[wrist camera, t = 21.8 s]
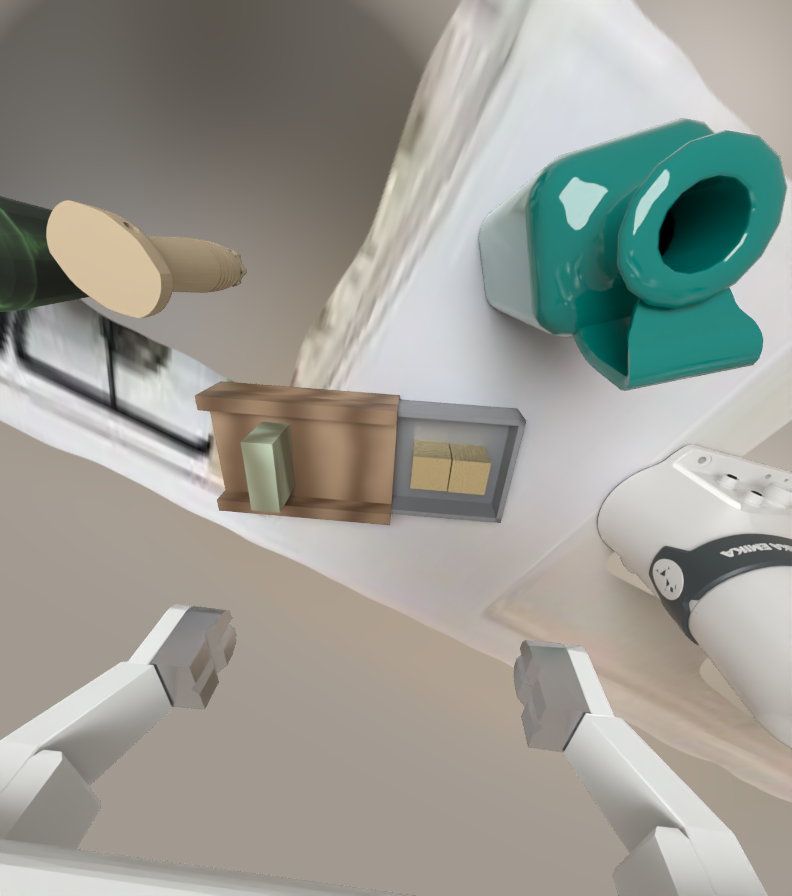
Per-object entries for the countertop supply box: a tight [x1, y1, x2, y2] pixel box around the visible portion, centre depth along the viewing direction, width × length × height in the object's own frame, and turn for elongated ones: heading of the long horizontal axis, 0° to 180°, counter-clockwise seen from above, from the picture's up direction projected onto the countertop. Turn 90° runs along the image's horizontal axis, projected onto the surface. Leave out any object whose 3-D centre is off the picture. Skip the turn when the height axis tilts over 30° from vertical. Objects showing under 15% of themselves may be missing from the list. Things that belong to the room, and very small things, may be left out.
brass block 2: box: [447, 443, 491, 495], centre depth 39 cm, size 4×4×4 cm
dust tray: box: [391, 400, 526, 523], centre depth 39 cm, size 13×13×4 cm
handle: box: [46, 200, 246, 318], centre depth 26 cm, size 5×6×15 cm
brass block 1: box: [410, 440, 452, 491], centre depth 39 cm, size 4×4×4 cm
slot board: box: [195, 382, 400, 525], centre depth 39 cm, size 20×14×5 cm
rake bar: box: [241, 422, 295, 513], centre depth 37 cm, size 3×8×5 cm, turn 176°
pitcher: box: [479, 118, 787, 391], centre depth 22 cm, size 10×8×22 cm
